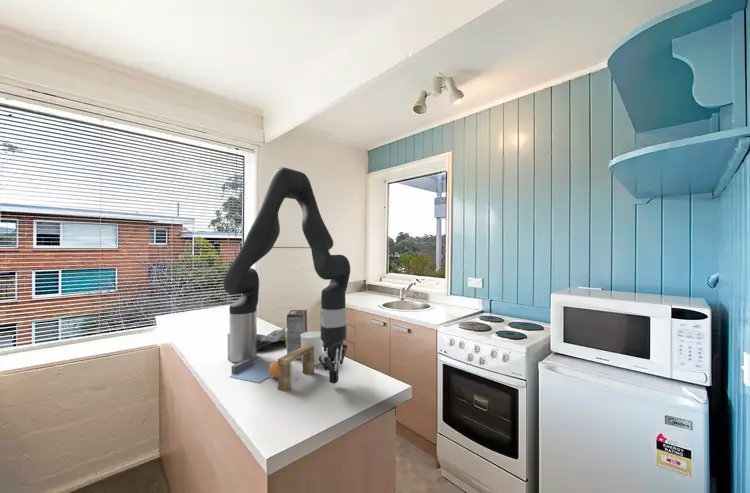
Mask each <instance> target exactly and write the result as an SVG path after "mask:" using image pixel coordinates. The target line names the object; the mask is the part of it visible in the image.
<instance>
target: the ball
mask: <svg viewBox="0 0 750 493" xmlns="http://www.w3.org/2000/svg"><path fill="white" fill-rule="evenodd" d="M269 365H270V367H269V373H270V375H271V377H272V378H274V379H278V360H274V361H273V362H272V363H271V364H269Z"/></svg>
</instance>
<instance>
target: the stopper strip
mask: <svg viewBox="0 0 750 493" xmlns="http://www.w3.org/2000/svg"><path fill="white" fill-rule="evenodd" d="M254 360H255V359H254V358H249V359H247V360H244V361H242V362H237V363H236V364H234V365H232V366H231V375H233V374H236V373H238V372H240V371H242V370H244V369H246V368H248V367H251V366H253V365H254V364H255V362H254Z"/></svg>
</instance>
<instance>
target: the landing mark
mask: <svg viewBox="0 0 750 493" xmlns="http://www.w3.org/2000/svg"><path fill="white" fill-rule="evenodd" d="M270 365H271V364H265V363H260V362H256V363H254V365H253V366H251V367H248V368H246V369H244V370H242V371H240V372H238V373H236V374H231V375H229V378H233V379H236V380H242V381H246V382H251V383H257V384H260V383H262V382H264V381H266V380H267V379H269V378H271V377H272V376H271V375H270V373H269V367H270Z"/></svg>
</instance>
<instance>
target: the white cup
mask: <svg viewBox="0 0 750 493" xmlns="http://www.w3.org/2000/svg"><path fill="white" fill-rule="evenodd" d="M323 343H324V342H323V341H322V340H321V331H314V330H312V331H311V330H310V331H307V332H305V333H302V334H301V347H302V346H304V345H313V346H314V366H317V365H320V364H321V363H320V361H319V357H320V356H323V350H324V344H323ZM301 359H302V363H303V356H302V358H301Z"/></svg>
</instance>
